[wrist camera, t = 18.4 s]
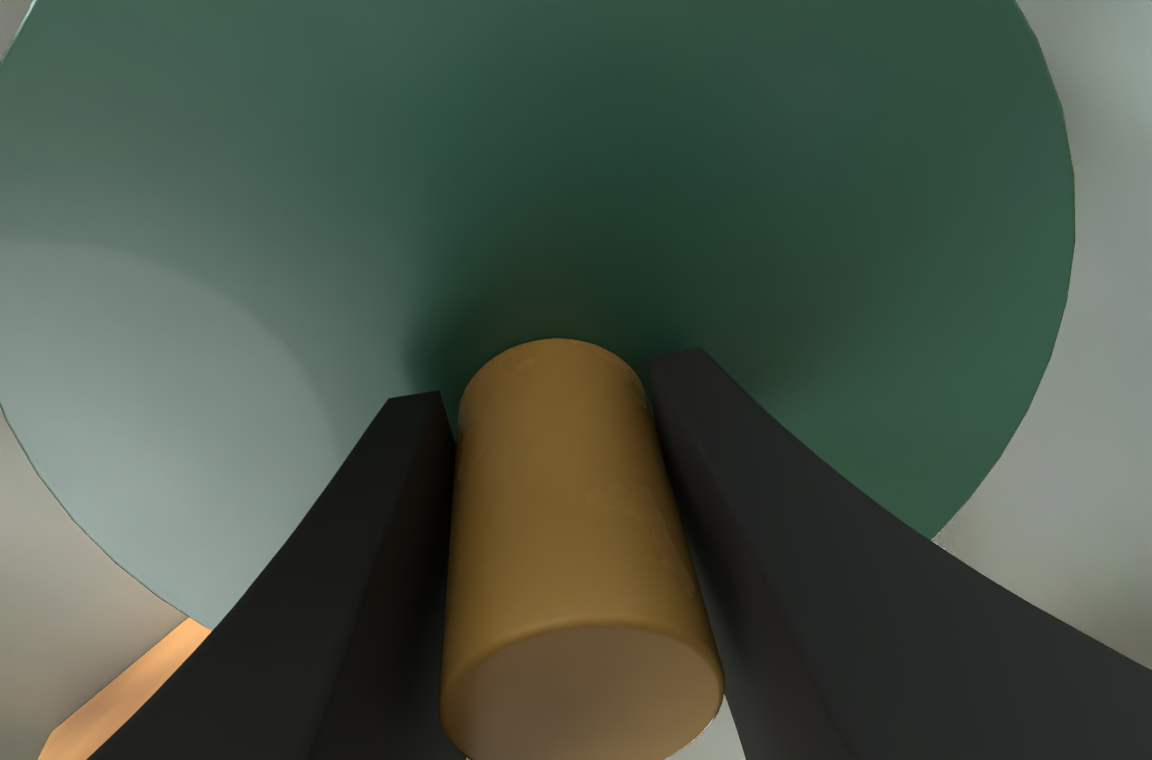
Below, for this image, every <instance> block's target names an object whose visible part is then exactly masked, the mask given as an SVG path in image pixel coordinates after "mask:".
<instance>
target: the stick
mask: <svg viewBox="0 0 1152 760" xmlns="http://www.w3.org/2000/svg"><path fill="white" fill-rule="evenodd" d="M211 632H212V630H210V629H208V628H206V627H204V626H202V625H201V624H199V623H198V622H196V621H195V620H193V619H192V618H190V617H188V618H187V619H186V620H185V621H183V622H182V623H181V624H180V625H179V626H177V627H176V628H175V629H174V630H173V631H172V632H170V633H169V634H168V635H167V636H166V637H164V638H163V639H162V640H161V641H160V642H158V643H157V644H156V645H155V646H154V647H152V648H151V649H150V650H149V651H148V652H146V653H145V654H144V655H143V656H142V657H140V658H139V659H138V660H137V661H136V662H134V663H133V664H132V665H131V666H130V667H128V668H127V669H126V670H125V671H124V672H122V673H121V674H120V675H119V676H118V677H116V678H115V679H114V680H113V681H112V682H111V683H109V684H108V685H107V686H106V687H105V688H103V689H102V690H101V691H100V692H99V693H97V694H96V695H95V696H94V697H93V698H91V699H90V700H89V701H88V702H87V703H85V704H84V705H83V706H82V707H81V708H79V709H78V710H77V711H76V712H75V713H73V714H72V715H71V716H70V717H69V718H67V719H66V720H65V721H64V722H63V723H61V724H60V725H59V726H58V727H57V728H55V729H54V730H53V731H52V732H51V734H50V736H49V738H48V740H47V742H46V744H45V746H44V748H43V750H42V752H41V754H40V756H39V758H38V760H86V759H87V758H88V757H90V756H91V755H92V754H93V753H94V752H95V751H96V750H97V749H98V748H99V747H100V746H101V745H102V744H103V743H104V742H105V741H106V740H107V739H108V738H110V737H111V736H112V735H113V734H114V733H115V732H116V731H117V730H118V729H119V728H120V727H121V726H122V725H123V724H124V723H125V722H126V721H127V720H128V719H129V718H130V717H131V716H132V715H133V714H134V713H135V712H136V711H137V710H138V709H139V708H140V707H141V706H142V705H143V704H144V703H145V702H146V701H147V700H148V699H149V698H150V697H151V696H152V695H153V694H154V693H155V692H156V691H157V690H158V689H159V688H160V687H161V686H162V684H163V683H164V682H165V681H166V680H167V679H168V678H169V677H170V676H171V675H172V674H173V673H174V672H175V671H176V670H177V669H178V668H179V666H180V665H181V664H182V663H183V662H184V661H185V660H186V659H187V658H188V657H189V656H190V655H191V654H192V653H193V652H194V651H195V650H196V648H197V647H198V646H199V645H200V644H201V643H202V642H203V641H204V640H205V638H206V637H207V636H208V635H209V634H210V633H211Z"/></svg>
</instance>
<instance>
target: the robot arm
mask: <svg viewBox="0 0 1152 760" xmlns="http://www.w3.org/2000/svg"><path fill="white" fill-rule="evenodd" d="M648 362H649V373H650V383H651V393H652V403H653V414H654V424H655V428H656V432H657V435H658V439H659V442H660V446H661V449H662V453H663V456H664V460H665V464H666V467H667V471H668V474H669V478H670V481H671V485H672V489H673V492H674V496H675V499H676V503H677V506H678V510H679V513H680V517H681V521H682V524H683V528H684V531H685V535H686V538H687V542H688V546H689V549H690V553H691V556H692V560H693V563H694V567H695V570H696V574H697V578H698V581H699V585H700V588H701V592H702V595H703V599H704V603H705V606H706V610H707V613H708V617H709V620H710V624H711V627H712V631H713V635H714V638H715V642H716V645H717V649H718V652H719V656H720V660H721V663H722V667H723V670H724V674H725V690H724V694H725V696H726V699H727V702H728V705H729V708H730V711H731V714H732V717H733V719H734V722H735V725H736V728H737V731H738V735H739V738H740V741H741V744H742V748H743V751H744V754H745V758H746V760H1152V670H1150V669H1148V668H1146V667H1144V666H1142V665H1140V664H1139V663H1137V662H1135V661H1133V660H1131V659H1129V658H1128V657H1126V656H1124V655H1122V654H1120V653H1119V652H1117V651H1115V650H1113V649H1111V648H1110V647H1108V646H1106V645H1104V644H1102V643H1101V642H1099V641H1097V640H1095V639H1093V638H1092V637H1090V636H1088V635H1086V634H1084V633H1083V632H1081V631H1079V630H1077V629H1075V628H1074V627H1072V626H1070V625H1068V624H1066V623H1065V622H1063V621H1061V620H1059V619H1057V618H1056V617H1054V616H1052V615H1050V614H1048V613H1047V612H1045V611H1043V610H1041V609H1039V608H1038V607H1036V606H1034V605H1032V604H1030V603H1029V602H1027V601H1025V600H1024V599H1022V598H1020V597H1019V596H1017V595H1015V594H1014V593H1012V592H1010V591H1009V590H1007V589H1005V588H1004V587H1002V586H1000V585H999V584H997V583H995V582H994V581H992V580H990V579H989V578H987V577H985V576H984V575H982V574H981V573H979V572H978V571H976V570H974V569H973V568H971V567H970V566H968V565H967V564H965V563H964V562H962V561H961V560H959V559H958V558H956V557H954V556H953V555H951V554H950V553H948V552H947V551H945V550H944V549H942V548H941V547H939V546H938V545H936V544H935V543H933V542H932V541H930V540H929V539H927V538H926V537H924V536H923V535H922V534H920V533H919V532H917V531H916V530H914V529H913V528H911V527H910V526H909V525H907V524H906V523H904V522H903V521H902V520H900V519H899V518H898V517H896V516H895V515H893V514H892V513H891V512H889V511H888V510H886V509H885V508H884V507H882V506H881V505H880V504H878V503H877V502H876V501H875V500H873V499H872V498H871V497H869V496H868V495H867V494H865V493H864V492H863V491H861V490H860V489H859V488H857V487H856V486H855V485H854V484H852V483H851V482H850V481H848V480H847V479H846V478H844V477H843V476H842V475H841V474H840V473H838V472H837V471H836V470H835V469H833V468H832V467H831V466H830V465H828V464H827V463H826V462H825V461H823V460H822V459H821V458H820V457H819V456H818V455H816V454H815V453H814V452H813V451H812V450H811V449H809V448H808V447H807V446H806V445H805V444H804V443H802V442H801V441H800V440H799V439H798V438H797V437H795V436H794V435H793V434H792V433H791V432H790V431H788V430H787V429H786V428H785V427H784V426H783V425H781V424H780V423H779V422H778V421H777V420H776V419H775V418H774V417H773V416H772V415H770V414H769V413H768V412H767V411H766V410H765V409H764V408H763V407H762V406H761V405H760V404H759V403H758V402H756V401H755V400H754V399H753V398H752V397H751V396H750V395H749V394H748V393H747V392H746V391H745V390H744V389H743V388H742V387H741V386H740V385H739V384H738V383H737V382H736V381H735V380H734V379H733V378H732V377H731V376H730V375H729V374H728V373H727V372H726V371H725V370H724V369H723V368H722V367H721V366H720V365H719V364H718V363H717V362H716V361H715V360H714V359H713V358H712V357H711V356H710V355H709V354H708V353H707V352H705V351H704V350H703V349H701V348H700V347H697V348H691V349H685V350H679V351H673V352H667V353H661V354H655V355H648ZM455 452H456V443H455V440H454V436H453V433H452V430H451V427H450V423H449V420H448V417H447V414H446V410H445V407H444V404H443V401H442V397H441V394H440V391H439V390H436V391H430V392H424V393H418V394H412V395H406V396H400V397H394V398H388V400H387V401H386V402H385V404H384V405H383V407H382V408H381V409H380V411H379V412H378V413H377V415H376V416H375V418H374V419H373V420H372V422H371V423H370V425H369V426H368V427H367V429H366V430H365V432H364V433H363V435H362V436H361V438H360V439H359V441H358V442H357V443H356V445H355V446H354V448H353V449H352V451H351V452H350V454H349V455H348V456H347V458H346V459H345V461H344V462H343V464H342V465H341V467H340V468H339V469H338V471H337V472H336V474H335V475H334V477H333V478H332V479H331V481H330V482H329V484H328V485H327V486H326V488H325V489H324V491H323V492H322V493H321V495H320V496H319V497H318V499H317V500H316V501H315V503H314V504H313V506H312V507H311V508H310V510H309V511H308V512H307V514H306V515H305V517H304V518H303V519H302V521H301V522H300V523H299V525H298V526H297V527H296V529H295V530H294V532H293V533H292V534H291V535H290V537H289V538H288V539H287V541H286V542H285V543H284V545H283V546H282V547H281V548H280V550H279V551H278V552H277V553H276V555H275V556H274V557H273V558H272V560H271V561H270V562H269V563H268V564H267V566H266V567H265V568H264V569H263V571H262V572H261V573H260V574H259V576H258V577H257V578H256V579H255V581H254V582H253V583H252V584H251V586H250V587H249V588H248V589H247V591H246V592H245V593H244V594H243V596H242V597H241V598H240V599H239V601H238V602H237V603H236V604H235V605H234V607H233V608H232V609H231V610H230V611H229V612H228V613H227V615H226V616H225V617H224V618H223V619H222V620H221V622H220V623H219V624H218V625H217V626H216V627H215V628H214V629H213V631H212V632H211V633H210V634H209V635H208V636H207V637H206V638H205V640H204V641H203V642H202V643H201V644H200V645H199V646H198V647H197V648H196V650H195V651H194V652H193V653H192V654H191V655H190V656H189V657H188V658H187V659H186V660H185V661H184V662H183V663H182V664H181V665H180V666H179V668H178V669H177V670H176V671H175V672H174V673H173V674H172V675H171V676H170V677H169V678H168V679H167V680H166V681H165V682H164V683H163V684H162V686H161V687H160V688H159V689H158V690H157V691H156V692H155V693H154V694H153V695H152V696H151V697H150V698H149V699H148V700H147V701H146V702H145V703H144V704H143V705H142V706H141V707H140V708H139V709H138V710H137V711H136V712H135V713H134V714H133V715H132V716H131V717H130V718H129V719H128V720H127V721H126V722H125V723H124V724H123V725H122V726H121V727H120V728H119V729H118V730H117V731H116V732H115V733H114V734H113V735H112V736H111V737H110V738H108V739H107V740H106V741H105V742H104V743H103V744H102V745H101V746H100V747H99V748H98V749H97V750H96V751H95V752H94V753H93V754H92V755H91V756H90V757H88V758H87V759H86V760H466V757H465V756H464V755H463V754H462V753H460V752H459V751H458V750H457V749H456V748H455V747H454V746H453V744H452V743H451V742H450V740H449V739H448V738H447V736H446V734H445V732H444V729H443V727H442V725H441V722H440V718H439V713H438V696H439V681H440V667H441V653H442V638H443V624H444V610H445V595H446V581H447V567H448V552H449V538H450V523H451V509H452V495H453V480H454V466H455Z"/></svg>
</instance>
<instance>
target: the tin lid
mask: <svg viewBox="0 0 1152 760" xmlns="http://www.w3.org/2000/svg"><path fill="white" fill-rule="evenodd" d="M1074 246H1075V193H1074V172H1073V166H1072V160H1071V155H1070V149H1069V144H1068V138H1067V132H1066V127H1065V121H1064V115H1063V110H1062V106H1061V104H1060V101H1059V98H1058V95H1057V92H1056V90H1055V87H1054V84H1053V81H1052V79H1051V76H1050V73H1049V70H1048V67H1047V65H1046V62H1045V59H1044V56H1043V53H1042V51H1041V48H1040V45H1039V42H1038V40H1037V37H1036V35H1035V34H1034V32H1033V30H1032V28H1031V27H1030V25H1029V23H1028V21H1027V20H1026V18H1025V16H1024V14H1023V13H1022V11H1021V9H1020V7H1019V6H1018V4H1017V2H1016V0H33V1H32V3H31V4H30V6H29V8H28V10H27V12H26V14H25V16H24V18H23V19H22V21H21V23H20V25H19V27H18V29H17V31H16V33H15V35H14V36H13V38H12V40H11V42H10V44H9V46H8V48H7V50H6V51H5V53H4V55H3V57H2V59H1V61H0V407H1V410H2V412H3V415H4V417H5V419H6V422H7V423H8V425H9V427H10V429H11V430H12V432H13V434H14V435H15V437H16V439H17V441H18V442H19V444H20V446H21V447H22V449H23V451H24V453H25V454H26V456H27V458H28V459H29V461H30V463H31V464H32V466H33V468H34V470H35V471H36V473H37V475H38V476H39V477H40V479H41V480H42V481H43V482H44V484H45V485H46V486H47V488H48V489H49V490H50V491H51V493H52V494H53V495H54V497H55V498H56V499H57V500H58V502H59V503H60V504H61V506H62V507H63V508H64V509H65V511H66V512H67V513H68V515H69V516H70V517H71V518H72V520H73V521H74V522H75V523H76V524H77V525H78V526H79V527H80V528H81V529H82V530H83V531H84V532H85V533H86V534H87V535H88V536H89V537H90V538H91V539H92V540H93V541H94V542H95V543H96V544H97V545H98V546H99V547H100V548H101V549H102V550H103V551H104V552H105V553H106V554H107V555H108V556H109V557H110V558H111V559H112V560H113V561H114V562H115V563H116V564H117V565H119V566H120V567H121V568H122V569H124V570H125V571H126V572H127V573H129V574H130V575H131V576H132V577H134V578H135V579H136V580H137V581H139V582H140V583H141V584H142V585H144V586H145V587H146V588H147V589H149V590H150V591H151V592H152V593H154V594H155V595H156V596H157V597H159V598H160V599H162V600H164V601H165V602H167V603H168V604H170V605H171V606H173V607H174V608H176V609H178V610H179V611H181V612H182V613H184V614H185V615H187V616H188V617H190V618H192V619H193V620H195V621H196V622H198V623H199V624H201V625H202V626H204V627H206V628H208V629H210V630H212V631H213V629H214V628H215V627H216V626H217V625H218V624H219V623H220V622H221V620H222V619H223V618H224V617H225V616H226V615H227V613H228V612H229V611H230V610H231V609H232V608H233V607H234V605H235V604H236V603H237V602H238V601H239V599H240V598H241V597H242V596H243V594H244V593H245V592H246V591H247V589H248V588H249V587H250V586H251V584H252V583H253V582H254V581H255V579H256V578H257V577H258V576H259V574H260V573H261V572H262V571H263V569H264V568H265V567H266V566H267V564H268V563H269V562H270V561H271V560H272V558H273V557H274V556H275V555H276V553H277V552H278V551H279V550H280V548H281V547H282V546H283V545H284V543H285V542H286V541H287V539H288V538H289V537H290V535H291V534H292V533H293V532H294V530H295V529H296V527H297V526H298V525H299V523H300V522H301V521H302V519H303V518H304V517H305V515H306V514H307V512H308V511H309V510H310V508H311V507H312V506H313V504H314V503H315V501H316V500H317V499H318V497H319V496H320V495H321V493H322V492H323V491H324V489H325V488H326V486H327V485H328V484H329V482H330V481H331V479H332V478H333V477H334V475H335V474H336V472H337V471H338V469H339V468H340V467H341V465H342V464H343V462H344V461H345V459H346V458H347V456H348V455H349V454H350V452H351V451H352V449H353V448H354V446H355V445H356V443H357V442H358V441H359V439H360V438H361V436H362V435H363V433H364V432H365V430H366V429H367V427H368V426H369V425H370V423H371V422H372V420H373V419H374V418H375V416H376V415H377V413H378V412H379V411H380V409H381V408H382V407H383V405H384V404H385V402H386V401H387V400H388V398H394V397H400V396H406V395H412V394H418V393H424V392H430V391H436V390H439V391H440V394H441V397H442V401H443V404H444V407H445V410H446V414H447V417H448V420H449V423H450V427H451V430H452V433H453V436H454V440H455V443H456V452H455V466H454V480H453V495H452V509H451V523H450V538H449V552H448V567H447V581H446V595H445V610H444V624H443V638H442V653H441V667H440V681H439V696H438V713H439V718H440V722H441V725H442V727H443V729H444V732H445V734H446V736H447V738H448V739H449V740H450V742H451V743H452V744H453V746H454V747H455V748H456V749H457V750H458V751H459V752H460V753H462V754H463V755H464V756H465V757H467V758H468V759H470V760H664V759H666V758H668V757H670V756H672V755H674V754H675V753H677V752H679V751H680V750H682V749H684V748H685V747H686V746H688V745H689V744H690V743H692V742H693V741H694V740H696V739H697V738H698V737H699V736H700V735H701V734H702V733H703V732H704V731H705V730H706V729H707V728H708V727H709V725H710V724H711V723H712V722H713V720H714V718H715V717H716V715H717V714H718V712H719V709H720V707H721V704H722V701H723V695H724V690H725V674H724V670H723V667H722V663H721V660H720V656H719V652H718V649H717V645H716V642H715V638H714V635H713V631H712V627H711V624H710V620H709V617H708V613H707V610H706V606H705V603H704V599H703V595H702V592H701V588H700V585H699V581H698V578H697V574H696V570H695V567H694V563H693V560H692V556H691V553H690V549H689V546H688V542H687V538H686V535H685V531H684V528H683V524H682V521H681V517H680V513H679V510H678V506H677V503H676V499H675V496H674V492H673V489H672V485H671V481H670V478H669V474H668V471H667V467H666V464H665V460H664V456H663V453H662V449H661V446H660V442H659V439H658V435H657V432H656V428H655V424H654V414H653V403H652V393H651V383H650V373H649V362H648V355H655V354H661V353H667V352H673V351H679V350H685V349H691V348H697V347H700V348H701V349H703V350H704V351H705V352H707V353H708V354H709V355H710V356H711V357H712V358H713V359H714V360H715V361H716V362H717V363H718V364H719V365H720V366H721V367H722V368H723V369H724V370H725V371H726V372H727V373H728V374H729V375H730V376H731V377H732V378H733V379H734V380H735V381H736V382H737V383H738V384H739V385H740V386H741V387H742V388H743V389H744V390H745V391H746V392H747V393H748V394H749V395H750V396H751V397H752V398H753V399H754V400H755V401H756V402H758V403H759V404H760V405H761V406H762V407H763V408H764V409H765V410H766V411H767V412H768V413H769V414H770V415H772V416H773V417H774V418H775V419H776V420H777V421H778V422H779V423H780V424H781V425H783V426H784V427H785V428H786V429H787V430H788V431H790V432H791V433H792V434H793V435H794V436H795V437H797V438H798V439H799V440H800V441H801V442H802V443H804V444H805V445H806V446H807V447H808V448H809V449H811V450H812V451H813V452H814V453H815V454H816V455H818V456H819V457H820V458H821V459H822V460H823V461H825V462H826V463H827V464H828V465H830V466H831V467H832V468H833V469H835V470H836V471H837V472H838V473H840V474H841V475H842V476H843V477H844V478H846V479H847V480H848V481H850V482H851V483H852V484H854V485H855V486H856V487H857V488H859V489H860V490H861V491H863V492H864V493H865V494H867V495H868V496H869V497H871V498H872V499H873V500H875V501H876V502H877V503H878V504H880V505H881V506H882V507H884V508H885V509H886V510H888V511H889V512H891V513H892V514H893V515H895V516H896V517H898V518H899V519H900V520H902V521H903V522H904V523H906V524H907V525H909V526H910V527H911V528H913V529H914V530H916V531H917V532H919V533H920V534H922V535H923V536H924V537H926V538H927V539H929V540H931V539H933V538H934V537H935V536H936V534H937V533H938V532H939V531H940V530H941V529H942V528H943V527H944V526H945V525H946V524H947V523H948V521H949V520H950V519H951V518H952V517H953V516H954V515H955V514H956V513H957V512H958V511H959V510H960V508H961V507H962V506H963V505H964V504H965V503H966V502H967V501H968V500H969V499H970V497H971V496H972V495H973V493H974V492H975V491H976V489H977V488H978V486H979V485H980V484H981V482H982V481H983V480H984V478H985V477H986V476H987V474H988V473H989V472H990V470H991V469H992V468H993V466H994V465H995V464H996V462H997V461H998V460H999V458H1000V457H1001V455H1002V454H1003V452H1004V450H1005V449H1006V447H1007V445H1008V443H1009V442H1010V440H1011V438H1012V437H1013V435H1014V433H1015V431H1016V430H1017V428H1018V426H1019V425H1020V423H1021V421H1022V420H1023V418H1024V416H1025V414H1026V413H1027V411H1028V409H1029V407H1030V405H1031V402H1032V400H1033V398H1034V395H1035V393H1036V391H1037V388H1038V386H1039V384H1040V381H1041V379H1042V377H1043V375H1044V372H1045V370H1046V368H1047V365H1048V363H1049V361H1050V358H1051V355H1052V352H1053V348H1054V345H1055V341H1056V338H1057V334H1058V331H1059V327H1060V324H1061V320H1062V317H1063V313H1064V310H1065V306H1066V303H1067V297H1068V289H1069V282H1070V275H1071V267H1072V260H1073V253H1074Z"/></svg>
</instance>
